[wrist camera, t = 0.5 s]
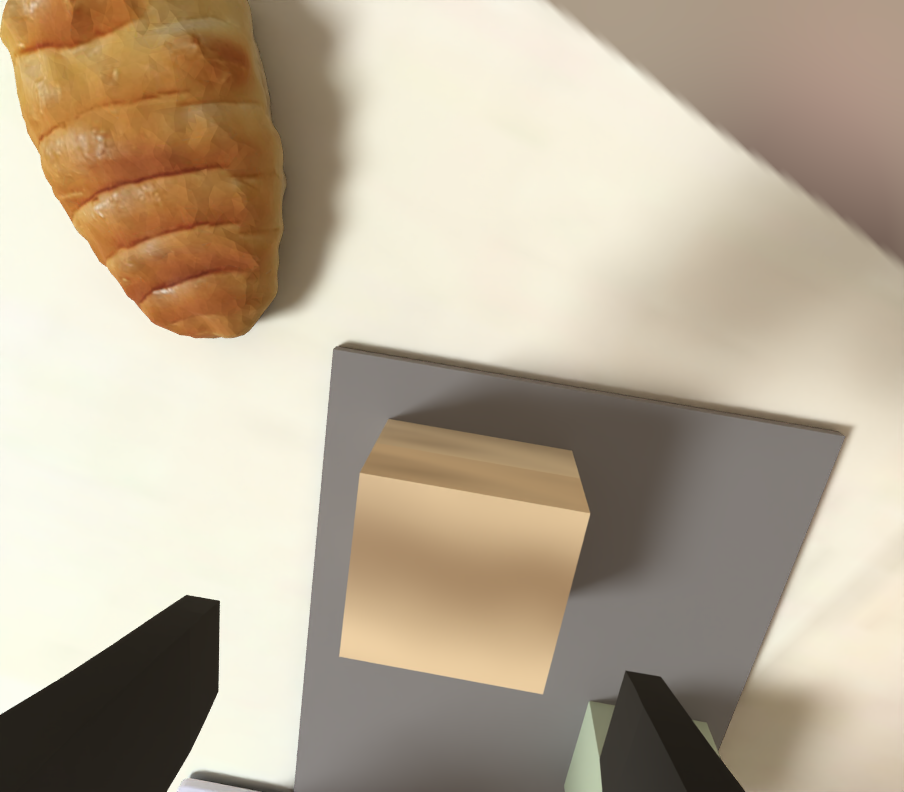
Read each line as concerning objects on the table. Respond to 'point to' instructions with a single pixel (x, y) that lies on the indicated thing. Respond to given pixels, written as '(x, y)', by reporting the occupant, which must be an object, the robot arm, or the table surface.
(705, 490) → the mat
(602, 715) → the green block
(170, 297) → the pastry
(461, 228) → the table surface
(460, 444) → the tower base slab
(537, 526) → the tower top slab
